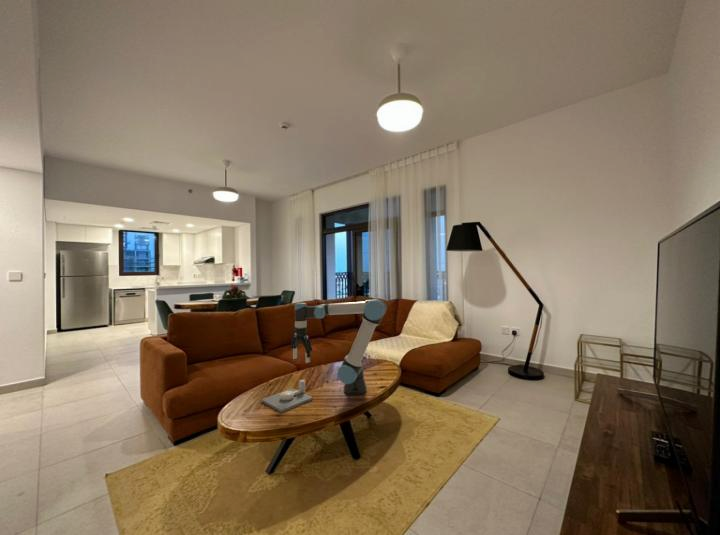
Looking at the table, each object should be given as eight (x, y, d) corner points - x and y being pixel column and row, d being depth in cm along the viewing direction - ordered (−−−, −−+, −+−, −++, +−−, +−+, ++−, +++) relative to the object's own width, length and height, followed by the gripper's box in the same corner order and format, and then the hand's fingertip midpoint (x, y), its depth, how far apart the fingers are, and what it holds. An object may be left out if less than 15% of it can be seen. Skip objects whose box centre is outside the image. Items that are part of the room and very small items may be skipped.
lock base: (312, 399, 174) (312, 396, 174) (281, 412, 158) (281, 409, 158) (292, 390, 189) (292, 387, 189) (261, 401, 173) (261, 399, 173)
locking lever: (285, 401, 168) (285, 389, 168) (277, 398, 173) (277, 386, 174) (308, 392, 181) (308, 381, 181) (301, 389, 186) (300, 378, 186)
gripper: (317, 328, 177) (318, 362, 177) (294, 324, 194) (294, 355, 194) (308, 330, 172) (308, 365, 171) (285, 325, 189) (285, 358, 188)
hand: (301, 360), depth 182 cm, fingers open, 13 cm apart
